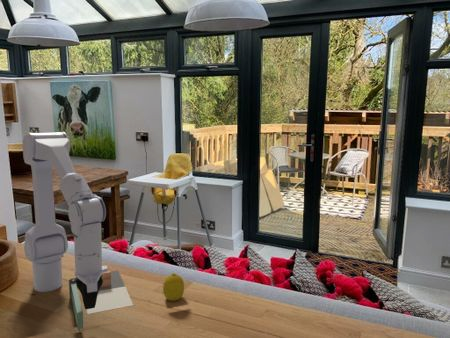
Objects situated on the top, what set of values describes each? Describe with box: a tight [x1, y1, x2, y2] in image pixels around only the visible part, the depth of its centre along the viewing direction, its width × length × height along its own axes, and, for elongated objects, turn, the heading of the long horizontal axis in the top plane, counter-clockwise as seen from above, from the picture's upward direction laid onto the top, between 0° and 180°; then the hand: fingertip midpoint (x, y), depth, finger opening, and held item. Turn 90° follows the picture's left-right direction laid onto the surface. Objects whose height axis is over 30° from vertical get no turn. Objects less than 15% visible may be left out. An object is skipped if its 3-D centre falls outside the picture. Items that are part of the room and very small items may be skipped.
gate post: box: [68, 277, 79, 301], centre depth 98 cm, size 2×2×6 cm
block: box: [101, 265, 112, 287], centre depth 107 cm, size 5×5×4 cm
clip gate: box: [71, 284, 84, 330], centre depth 90 cm, size 1×15×4 cm, turn 26°
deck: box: [86, 270, 134, 315], centre depth 103 cm, size 22×11×1 cm, turn 25°
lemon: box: [162, 272, 185, 302], centre depth 99 cm, size 6×6×8 cm
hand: (89, 307), depth 87 cm, fingers closed
